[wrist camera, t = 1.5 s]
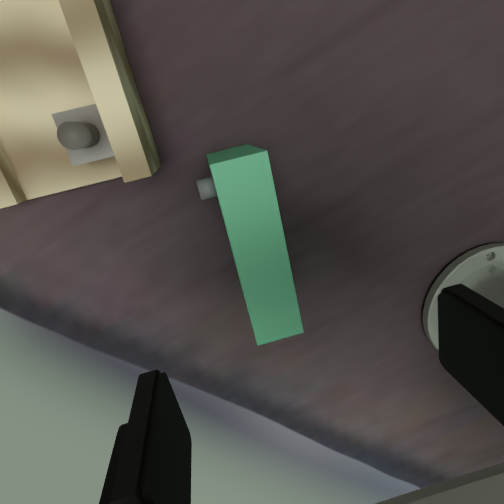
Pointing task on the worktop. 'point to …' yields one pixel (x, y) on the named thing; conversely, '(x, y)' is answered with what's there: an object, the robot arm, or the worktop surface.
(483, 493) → the robot arm
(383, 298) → the worktop surface
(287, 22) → the worktop surface
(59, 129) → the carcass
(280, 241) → the door
